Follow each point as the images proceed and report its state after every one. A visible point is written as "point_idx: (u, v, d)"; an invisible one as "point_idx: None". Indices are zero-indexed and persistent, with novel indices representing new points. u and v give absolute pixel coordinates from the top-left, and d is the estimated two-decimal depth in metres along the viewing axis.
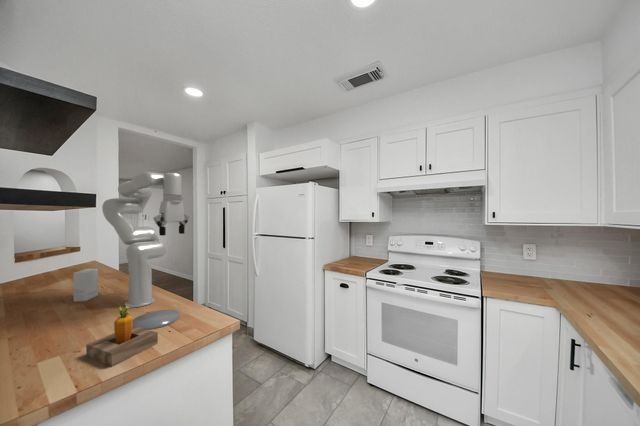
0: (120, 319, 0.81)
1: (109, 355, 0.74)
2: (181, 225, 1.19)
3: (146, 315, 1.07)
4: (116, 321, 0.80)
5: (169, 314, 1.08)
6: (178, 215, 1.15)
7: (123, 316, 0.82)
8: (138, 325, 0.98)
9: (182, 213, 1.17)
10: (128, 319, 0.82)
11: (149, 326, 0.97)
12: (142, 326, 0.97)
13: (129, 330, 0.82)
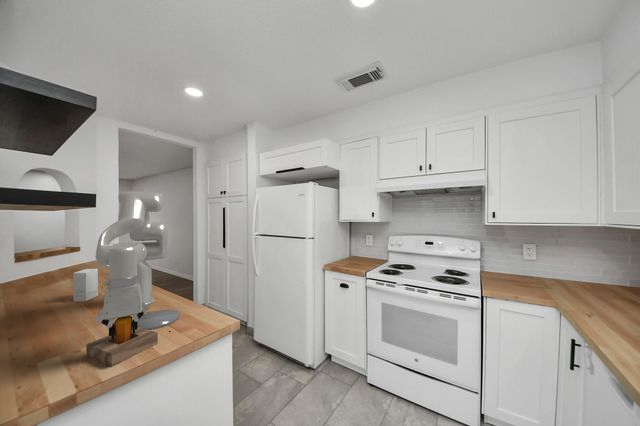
0: (120, 319, 0.81)
1: (109, 355, 0.74)
2: (113, 324, 0.81)
3: (146, 315, 1.07)
4: (116, 321, 0.80)
5: (169, 314, 1.08)
6: None
7: None
8: (138, 325, 0.98)
9: None
10: (128, 319, 0.82)
11: (149, 326, 0.97)
12: (142, 326, 0.97)
13: (129, 330, 0.82)
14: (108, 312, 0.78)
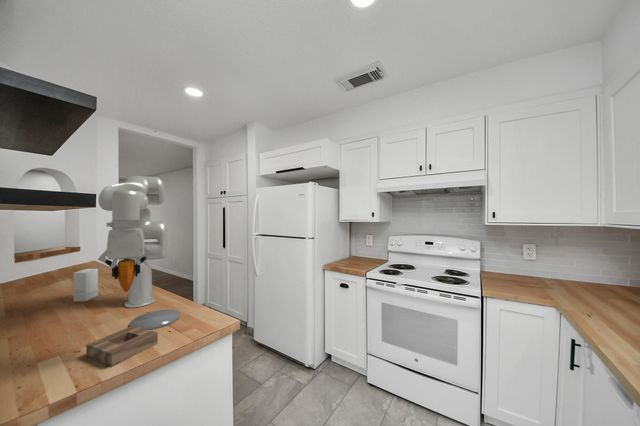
0: (123, 261, 0.82)
1: (109, 355, 0.74)
2: None
3: (146, 315, 1.07)
4: (119, 262, 0.82)
5: (169, 314, 1.08)
6: None
7: (126, 259, 0.83)
8: (138, 325, 0.98)
9: None
10: (131, 261, 0.83)
11: (149, 326, 0.97)
12: (142, 326, 0.97)
13: (132, 272, 0.84)
14: (111, 252, 0.79)
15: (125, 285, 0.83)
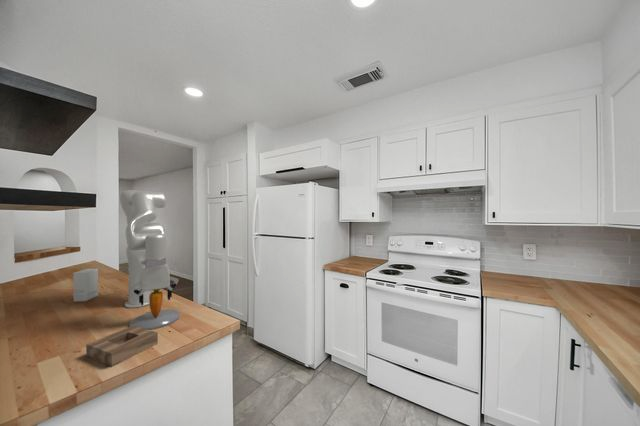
0: (154, 293, 1.03)
1: (109, 355, 0.74)
2: (142, 294, 1.02)
3: (146, 315, 1.07)
4: (151, 295, 1.03)
5: (169, 314, 1.08)
6: None
7: (156, 291, 1.04)
8: (138, 325, 0.98)
9: None
10: (160, 293, 1.04)
11: (149, 326, 0.97)
12: (142, 326, 0.97)
13: (160, 302, 1.04)
14: (145, 285, 1.00)
15: (155, 313, 1.03)
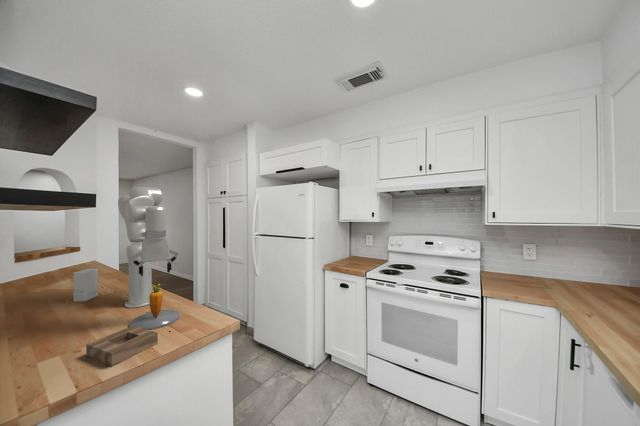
0: (154, 293, 1.03)
1: (109, 355, 0.74)
2: (142, 265, 1.02)
3: (146, 315, 1.07)
4: (151, 295, 1.03)
5: (169, 314, 1.08)
6: None
7: (156, 291, 1.04)
8: (138, 325, 0.98)
9: None
10: (160, 293, 1.04)
11: (149, 326, 0.97)
12: (142, 326, 0.97)
13: (160, 302, 1.04)
14: (145, 256, 1.00)
15: (155, 313, 1.03)
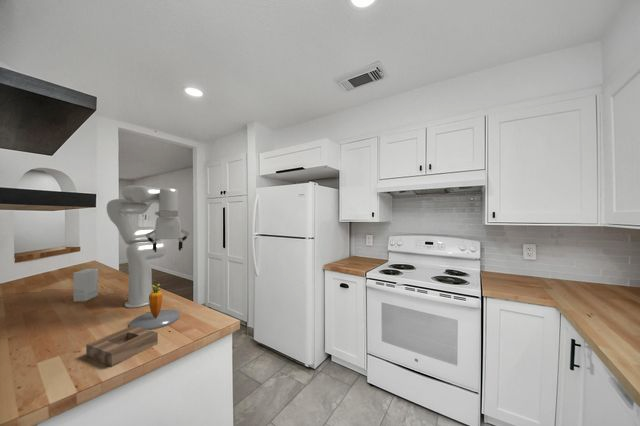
0: (153, 293, 1.03)
1: (109, 355, 0.74)
2: (156, 242, 1.09)
3: (146, 315, 1.07)
4: (150, 295, 1.02)
5: (169, 314, 1.08)
6: None
7: (155, 291, 1.04)
8: (138, 325, 0.98)
9: None
10: (160, 293, 1.04)
11: (149, 326, 0.97)
12: (142, 326, 0.97)
13: (160, 302, 1.04)
14: (158, 233, 1.07)
15: (155, 313, 1.03)
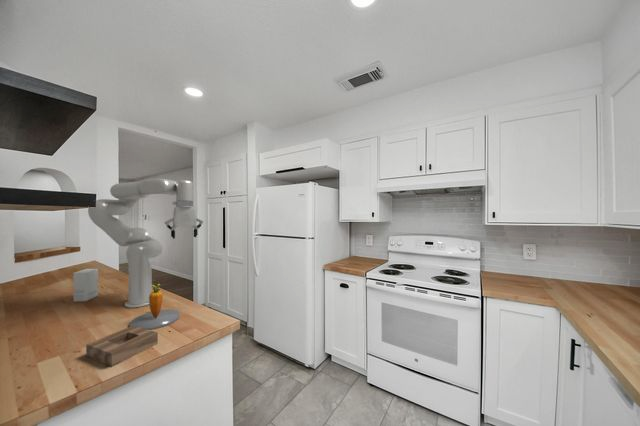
0: (154, 293, 1.03)
1: (109, 355, 0.74)
2: None
3: (146, 315, 1.07)
4: (151, 295, 1.03)
5: (169, 314, 1.08)
6: None
7: (156, 291, 1.04)
8: (138, 325, 0.98)
9: None
10: (160, 293, 1.04)
11: (149, 326, 0.97)
12: (142, 326, 0.97)
13: (160, 302, 1.04)
14: (176, 221, 1.18)
15: (155, 313, 1.03)
